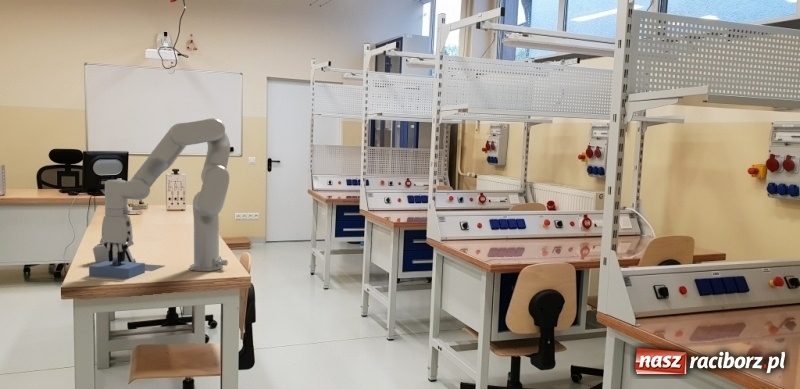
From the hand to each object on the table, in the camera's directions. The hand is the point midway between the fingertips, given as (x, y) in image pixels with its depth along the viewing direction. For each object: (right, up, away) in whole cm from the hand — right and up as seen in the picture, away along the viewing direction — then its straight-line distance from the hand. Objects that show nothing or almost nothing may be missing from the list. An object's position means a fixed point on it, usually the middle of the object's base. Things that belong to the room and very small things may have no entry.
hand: (116, 260), depth 214 cm
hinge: (-12, -4, +21) cm, 24 cm away
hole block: (0, -5, +1) cm, 6 cm away
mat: (+4, -4, +13) cm, 14 cm away
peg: (0, -3, 0) cm, 3 cm away
